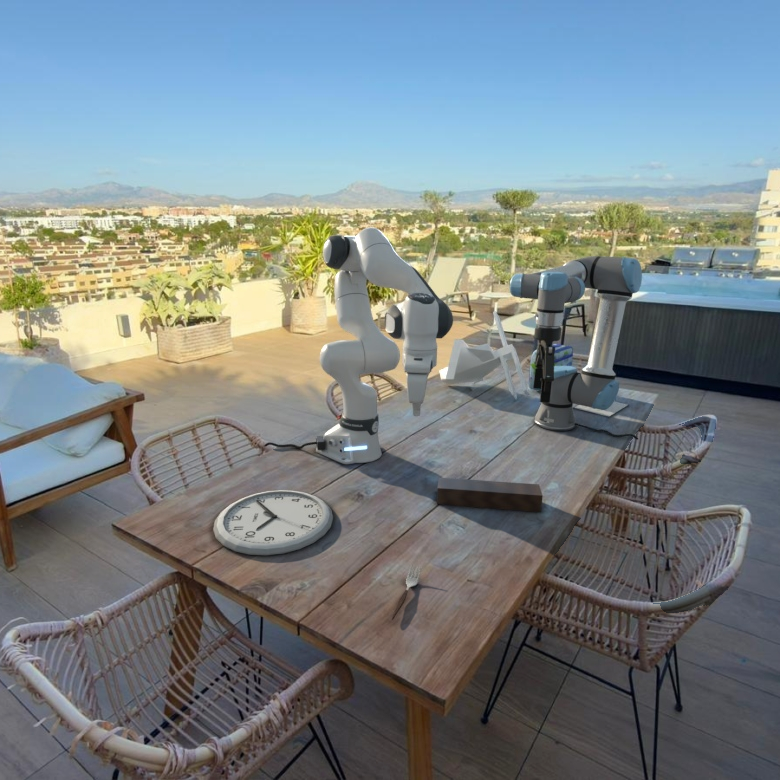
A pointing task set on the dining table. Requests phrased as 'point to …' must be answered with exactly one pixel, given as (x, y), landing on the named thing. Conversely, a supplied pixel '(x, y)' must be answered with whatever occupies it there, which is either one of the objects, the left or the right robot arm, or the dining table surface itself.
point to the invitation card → (608, 412)
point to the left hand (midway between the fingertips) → (417, 409)
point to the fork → (410, 583)
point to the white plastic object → (482, 362)
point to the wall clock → (273, 522)
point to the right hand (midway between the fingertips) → (541, 395)
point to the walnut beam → (489, 494)
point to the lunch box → (561, 358)
